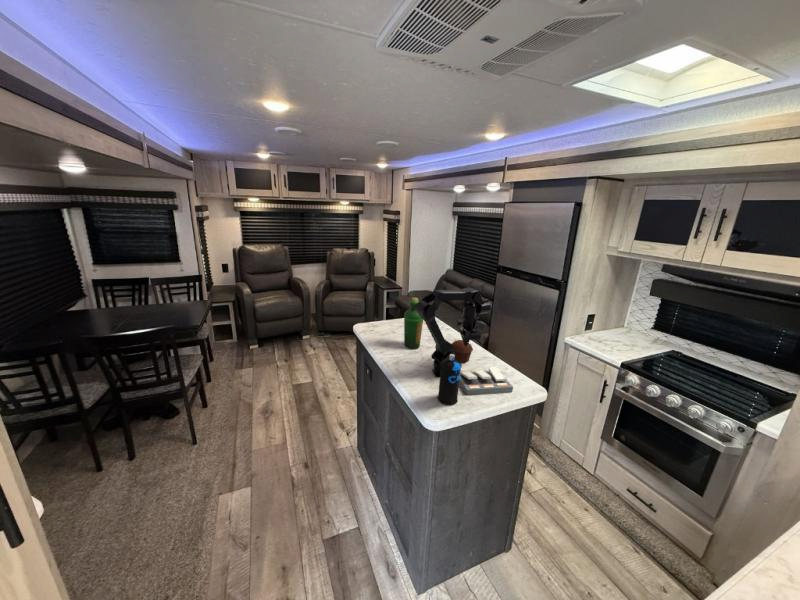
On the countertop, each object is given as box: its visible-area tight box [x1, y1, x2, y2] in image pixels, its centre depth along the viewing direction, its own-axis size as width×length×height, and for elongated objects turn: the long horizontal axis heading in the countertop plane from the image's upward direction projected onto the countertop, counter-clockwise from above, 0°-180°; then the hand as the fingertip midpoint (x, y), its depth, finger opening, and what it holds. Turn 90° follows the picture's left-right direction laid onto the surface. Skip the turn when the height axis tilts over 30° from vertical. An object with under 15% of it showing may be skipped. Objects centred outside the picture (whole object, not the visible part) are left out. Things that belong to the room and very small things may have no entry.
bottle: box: [403, 297, 424, 350], centre depth 168 cm, size 11×11×28 cm
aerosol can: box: [437, 354, 463, 406], centre depth 123 cm, size 8×8×20 cm
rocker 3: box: [487, 367, 506, 381], centre depth 139 cm, size 4×8×2 cm, turn 10°
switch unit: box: [459, 370, 514, 396], centre depth 138 cm, size 21×14×3 cm, turn 100°
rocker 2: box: [474, 370, 491, 379], centre depth 138 cm, size 4×8×2 cm, turn 10°
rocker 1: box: [460, 371, 477, 379], centre depth 137 cm, size 4×8×2 cm, turn 10°
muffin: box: [451, 339, 474, 364], centre depth 159 cm, size 12×11×10 cm
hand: (465, 345), depth 148 cm, fingers closed
